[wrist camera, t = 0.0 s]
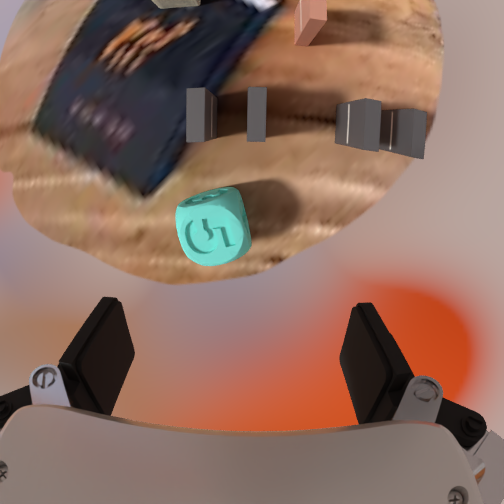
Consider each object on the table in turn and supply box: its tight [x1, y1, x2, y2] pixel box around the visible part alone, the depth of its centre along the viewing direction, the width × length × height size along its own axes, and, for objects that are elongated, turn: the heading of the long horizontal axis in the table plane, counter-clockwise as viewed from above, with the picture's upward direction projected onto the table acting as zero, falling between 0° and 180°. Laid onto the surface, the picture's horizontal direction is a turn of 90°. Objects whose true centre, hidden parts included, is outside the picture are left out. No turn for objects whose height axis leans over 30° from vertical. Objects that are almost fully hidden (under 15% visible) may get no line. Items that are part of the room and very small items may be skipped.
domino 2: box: [247, 87, 267, 142], centre depth 31 cm, size 2×6×11 cm, turn 179°
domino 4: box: [335, 98, 381, 152], centre depth 31 cm, size 2×6×11 cm, turn 179°
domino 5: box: [379, 109, 427, 159], centre depth 31 cm, size 2×6×11 cm, turn 179°
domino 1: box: [187, 88, 217, 142], centre depth 31 cm, size 2×6×11 cm, turn 179°
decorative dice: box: [176, 187, 251, 266], centre depth 38 cm, size 8×8×8 cm
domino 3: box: [295, 0, 327, 46], centre depth 25 cm, size 2×6×11 cm, turn 179°
